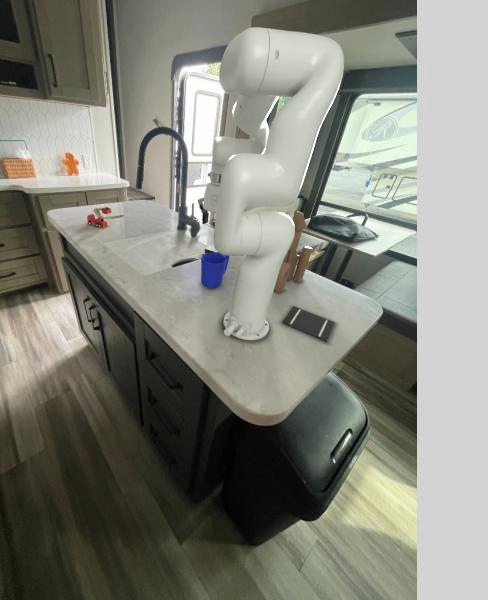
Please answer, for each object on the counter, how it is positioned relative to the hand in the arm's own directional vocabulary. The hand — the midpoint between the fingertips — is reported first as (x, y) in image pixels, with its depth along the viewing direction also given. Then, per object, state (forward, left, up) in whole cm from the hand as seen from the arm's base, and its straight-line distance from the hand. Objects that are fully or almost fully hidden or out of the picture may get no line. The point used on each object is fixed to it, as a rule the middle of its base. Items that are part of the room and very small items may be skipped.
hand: (215, 226), depth 102 cm
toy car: (0, -1, -11) cm, 11 cm away
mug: (-16, -11, -13) cm, 24 cm away
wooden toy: (0, -30, -13) cm, 33 cm away
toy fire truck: (-8, +60, -13) cm, 62 cm away
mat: (-17, -44, -13) cm, 49 cm away
